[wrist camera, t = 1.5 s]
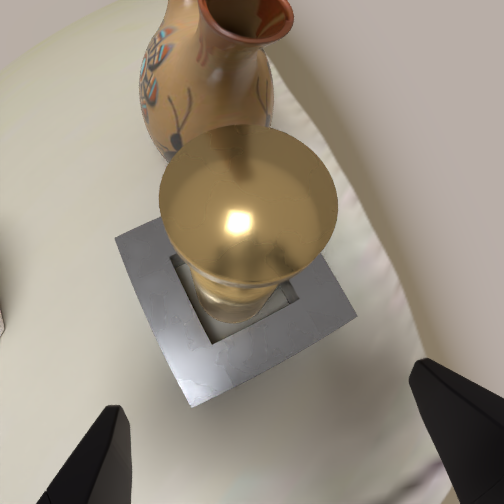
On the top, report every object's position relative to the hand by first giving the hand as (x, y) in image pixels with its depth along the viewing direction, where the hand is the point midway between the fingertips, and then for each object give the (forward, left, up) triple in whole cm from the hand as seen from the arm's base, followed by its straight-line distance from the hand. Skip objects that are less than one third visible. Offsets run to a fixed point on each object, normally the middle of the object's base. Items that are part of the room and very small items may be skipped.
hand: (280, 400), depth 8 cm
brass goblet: (+6, -2, -13) cm, 15 cm away
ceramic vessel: (+18, -6, -13) cm, 23 cm away
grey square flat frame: (+6, -2, -13) cm, 15 cm away
